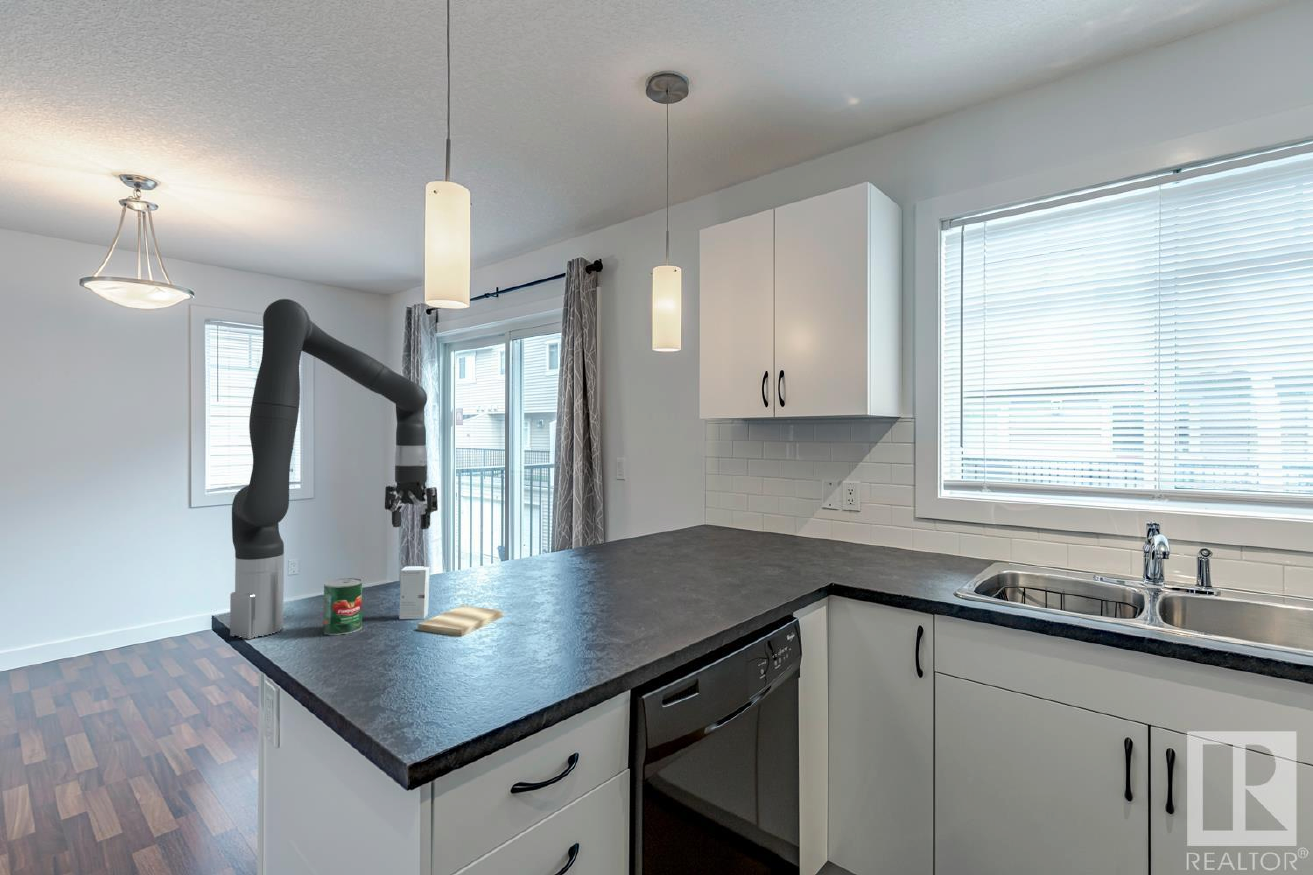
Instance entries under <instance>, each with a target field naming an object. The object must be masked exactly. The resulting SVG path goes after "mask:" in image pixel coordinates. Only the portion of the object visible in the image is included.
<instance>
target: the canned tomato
mask: <svg viewBox="0 0 1313 875" xmlns="http://www.w3.org/2000/svg"><path fill="white" fill-rule="evenodd" d="M362 615H363V579H361V578H356V577H346V578H337V579H336V578H335V579H332V580H327V581H326V582H324V583H323V632H324V633H326V634H330V635H329V636H334V635H335V636H341V635H340V634H346V635H349V634H348V633H351V634H353V633H352V632H354V633H357V632H359V631H360V630H361V629H362V628H363V626H362V624H363V622H362V621H363V616H362ZM324 633H323V634H324ZM326 634H325V635H326Z"/></svg>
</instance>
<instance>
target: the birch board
mask: <svg viewBox="0 0 1313 875" xmlns="http://www.w3.org/2000/svg"><path fill="white" fill-rule="evenodd" d="M503 612H504V611H503V610H501V609H492V608H487V607H486V608H484V607H477V606H468V605H460V606H459V607H455V608H453V609H451V610H448V611H446V612H443V613H440V614H438V615H436V616H434V617H431V618H429V619H426V620H423V621H421V622H419V623H417V630H418V631H422V632H428V633H436V634H443V635H448V636H449V635H450V636H457V637H464V636H465V635H467V634H469V633H472V632H473V631H476V630H478V629H480V628H482V627H485V626H486V625H488V624H490V623H492V622H493V623H494V621H496V620H498V619H501V618H503V616H504V615H503V614H504V613H503Z"/></svg>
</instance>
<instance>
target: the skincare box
mask: <svg viewBox="0 0 1313 875" xmlns="http://www.w3.org/2000/svg"><path fill="white" fill-rule="evenodd" d="M430 568H431V567H430V566H426V565H425V566H419V565H417V566H416V565H415V566H413V565H412V566H411V565H410V566H409V565H407V566H404V567H403V568H402V569H401V570H400V584H399V586H400V587H399V588H400V591H399V614H398V619H399V620H424V619H425V618H426V617H427V616H428V614H429V597H430V596H429V594H430V591H429V590H430Z"/></svg>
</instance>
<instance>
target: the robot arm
mask: <svg viewBox="0 0 1313 875" xmlns="http://www.w3.org/2000/svg"><path fill="white" fill-rule="evenodd" d="M262 331H263V332H262V337H263V338H262V354H261V361H260V364H259V369H258V372H257V375H256V376H257V377H256V380H255V384H254V390H253V394H252V400H251V406H250V412H249V413H250V414H249V423H248V425H249V426H248V428H249V438H250V439H249V440H250V444H251V445H250V446H251V450H252V468H251V469H252V470H251V475H250V479H249V484H248V485H246V486H243V487H242V488H241V489H239V490H238V492H236V494H235V495H234V497H233V500H232V504H231V505H232V506H231V535H232V536H231V539H232V545H233V548H234V552H235V553H234V558H235V560H234V561H235V563H234V566H235V568H234V570H235V571H234V573H235V574H234V591H232V592H231V593H230V595H229V596H230V597H229V598H230V601H229V602H230V611H229V612H230V614H229V615H230V616H229V618H230V619H229V620H230V621H229V628H230V629H229V636H230V637H234V635H237V636H241V637H243V638H242V639H246V638H247V640H251V639H255V638H259V637H258V636H262V635H267V634H271V633H273V632H277V633H279V632H281V631H282V630H283V629H284V582H285V581H284V572H285V569H284V568H285V563H284V562H285V554H284V553H285V544H284V541H283V538H282V537H281V535H280V528H279V527H280V526H279V523H280V522H281V521H282V520H283V519H284V518H285V517H286V515H287V512H288V510H289V508H290V507H289V505H290V475H291V474H290V471H291V470H290V469H291V463H292V462H291V461H292V456H293V450H294V444H295V438H296V430H297V427H298V418H299V412H300V405H301V404H300V400H301V379H300V361H301V358H302V357H301V355H302V352H304V353H305V354H308V355H310V356H312V357H314V358H315V359H318V360H320V361H322V362H323V363H325V364H327V365H329V366H330V367H332V368H334V369H335V370H337V371H338V372H340V373H342V374H343V375H345V376H347V377H348V378H349V379H351V380H353V381H355V383H357V384H359V385H361V386H363V387H364V388H366V389H367V390H369V391H370V392H372V393H373V392H374V393H375V394H378V395H380V396H383V397H384V398H385V399H387V400H389V401H390V402H392V403H393V404H395V417H396V418H395V419H396V429H395V445H396V446H395V452H394V482H395V483H396V485H386V486H385V490H384V491H385V492H384V493H385V494H384V509H385V510H388V511H390V512H391V525H392V528H399V527H401V526H402V511H401V510H402V509H403V508H404V506H405V505H408V504H409V505H415V507H416V508H418V510H419V511H420V529H421V530H429V528H430V526H431V514H432V513H434V512H438V506H439V505H438V489H437V487H435V486H434V487H433V486H432V487H427V486H426V483H427V481H428V451H427V446H426V445H427V429H426V425H425V407H426V405H427V402H428V395H427V392H426V391H425V389H424V388H423V386H421V385H419V384H418V383H416V382H415V381H412V379H409V378H408V377H405V376H403V375H401V374H400V373H398V372H395V371H394V370H392V369H391V368H390V367H388V366H387V365H385V364H383V363H382V362H380V361H378V360H376V358H374V357H372V356H370V355H368V354H367V353H365V352H364V351H361V350H359V349H357V348H355V347H354V346H353V347H352V346H351V345H348V344H346V343H344V342H342V341H339V340H338V339H336V338H334V337H333V336H332V335H330V334H328V333H327V332H325V331H324V330H323V329H322V328H320V327H319V326H317V325H316V323H314V322H313V321H312V320H311V318H310V316H309V313H308V312H307V310H306V309H305V308H304V306H302V305H301V304H300V303H299V302H297V301H295V300H292V299H290V298H289V299H288V298H281V299H278V300H275V301H273V302H271V303H270V304H269V305H267V307H266V309H265V310H264V312H263V315H262ZM282 628H283V629H282ZM281 629H282V630H281ZM280 630H281V631H280ZM278 631H279V632H278ZM271 635H272V634H271ZM267 636H268V635H267ZM254 637H255V638H254ZM262 637H263V636H262Z"/></svg>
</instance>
